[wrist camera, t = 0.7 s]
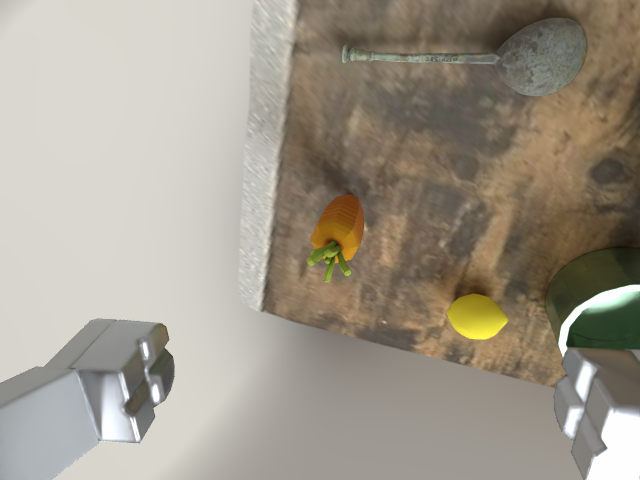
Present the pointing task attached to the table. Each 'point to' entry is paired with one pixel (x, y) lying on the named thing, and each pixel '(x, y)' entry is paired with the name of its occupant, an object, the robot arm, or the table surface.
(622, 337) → the pot
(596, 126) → the table surface
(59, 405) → the robot arm
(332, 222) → the carrot
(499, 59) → the soupspoon
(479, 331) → the lemon
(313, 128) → the table surface
